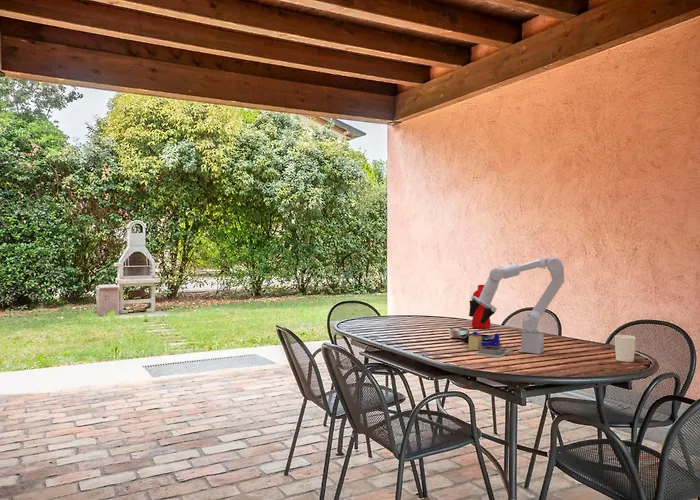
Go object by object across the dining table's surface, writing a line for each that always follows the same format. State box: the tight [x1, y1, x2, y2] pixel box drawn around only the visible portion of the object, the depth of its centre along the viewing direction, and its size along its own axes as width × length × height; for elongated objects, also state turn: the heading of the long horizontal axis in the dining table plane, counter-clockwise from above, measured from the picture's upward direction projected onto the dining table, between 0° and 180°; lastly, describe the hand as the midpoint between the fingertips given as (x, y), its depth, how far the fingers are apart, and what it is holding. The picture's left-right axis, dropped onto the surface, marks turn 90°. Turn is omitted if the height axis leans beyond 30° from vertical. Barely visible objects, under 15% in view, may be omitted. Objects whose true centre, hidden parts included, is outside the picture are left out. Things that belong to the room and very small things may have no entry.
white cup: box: [614, 334, 637, 363], centre depth 235 cm, size 8×8×10 cm
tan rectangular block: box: [468, 334, 483, 351], centre depth 257 cm, size 4×4×6 cm
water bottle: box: [471, 284, 491, 330], centre depth 324 cm, size 9×11×25 cm
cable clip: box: [472, 331, 501, 347], centre depth 268 cm, size 12×4×6 cm, turn 62°
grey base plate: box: [476, 346, 514, 359], centre depth 247 cm, size 10×18×3 cm, turn 146°
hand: (476, 319), depth 259 cm, fingers open, 7 cm apart
